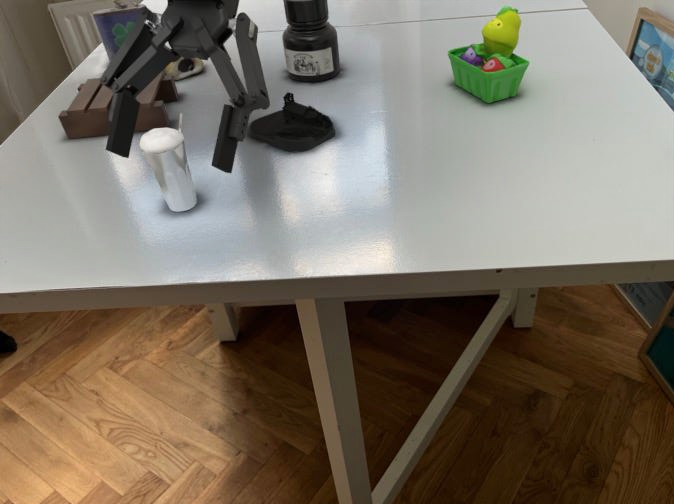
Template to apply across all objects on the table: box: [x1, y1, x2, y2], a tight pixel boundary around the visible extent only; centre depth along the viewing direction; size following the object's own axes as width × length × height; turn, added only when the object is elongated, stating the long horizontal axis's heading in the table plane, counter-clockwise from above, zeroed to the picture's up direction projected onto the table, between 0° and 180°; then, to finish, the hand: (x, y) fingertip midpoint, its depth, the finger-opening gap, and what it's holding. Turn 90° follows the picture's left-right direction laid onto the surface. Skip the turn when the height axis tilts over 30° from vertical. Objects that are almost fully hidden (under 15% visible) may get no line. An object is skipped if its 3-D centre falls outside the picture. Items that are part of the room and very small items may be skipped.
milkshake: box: [138, 112, 198, 213], centre depth 61 cm, size 4×5×10 cm
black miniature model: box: [248, 91, 336, 153], centre depth 76 cm, size 12×10×5 cm
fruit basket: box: [446, 5, 531, 104], centre depth 81 cm, size 11×9×11 cm
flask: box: [92, 0, 147, 63], centre depth 99 cm, size 9×3×11 cm, turn 109°
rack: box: [57, 71, 180, 140], centre depth 82 cm, size 14×12×4 cm
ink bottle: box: [281, 0, 341, 82], centre depth 89 cm, size 10×9×12 cm
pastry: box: [162, 57, 204, 81], centre depth 96 cm, size 9×7×4 cm
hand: (167, 161), depth 60 cm, fingers open, 13 cm apart
